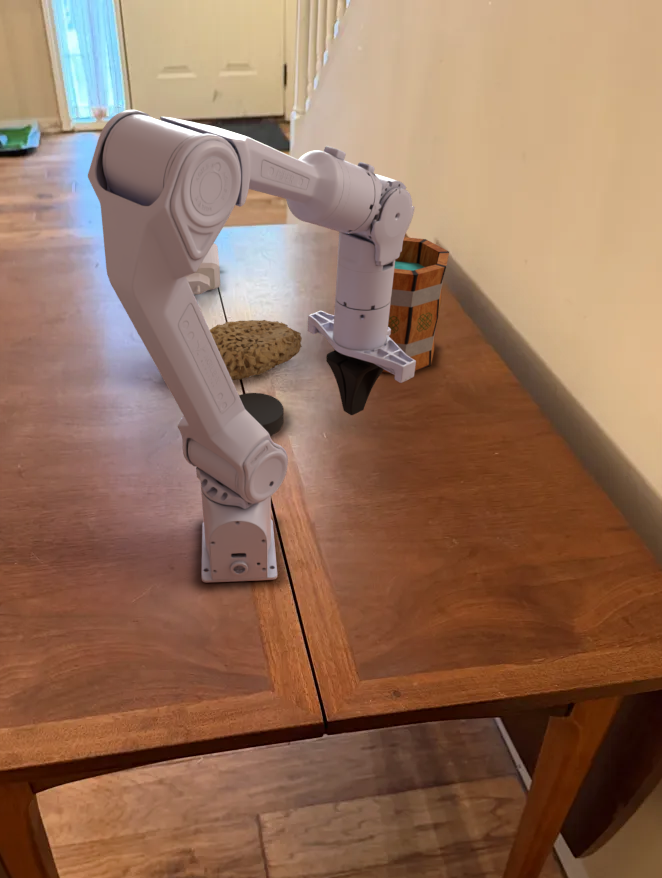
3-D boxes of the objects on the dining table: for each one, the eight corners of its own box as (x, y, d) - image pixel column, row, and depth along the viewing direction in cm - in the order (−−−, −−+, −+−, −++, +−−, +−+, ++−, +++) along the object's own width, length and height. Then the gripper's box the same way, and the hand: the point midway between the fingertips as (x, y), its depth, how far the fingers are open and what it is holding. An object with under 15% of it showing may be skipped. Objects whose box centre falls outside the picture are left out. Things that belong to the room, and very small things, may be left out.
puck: (285, 437, 101) (285, 425, 100) (224, 439, 101) (223, 427, 99) (281, 404, 107) (281, 391, 106) (223, 406, 107) (222, 393, 105)
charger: (166, 308, 128) (167, 269, 139) (222, 305, 129) (218, 267, 140) (163, 280, 125) (164, 243, 136) (220, 278, 126) (217, 241, 137)
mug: (447, 371, 114) (465, 272, 103) (357, 378, 112) (366, 278, 102) (411, 310, 128) (423, 217, 118) (330, 315, 126) (335, 222, 116)
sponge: (163, 402, 110) (302, 379, 106) (147, 348, 106) (291, 323, 102) (180, 370, 121) (306, 349, 117) (166, 320, 117) (297, 297, 113)
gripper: (442, 311, 78) (424, 425, 87) (342, 264, 86) (335, 373, 95) (393, 333, 74) (380, 448, 84) (294, 282, 82) (292, 392, 92)
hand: (353, 410), depth 89 cm, fingers closed
